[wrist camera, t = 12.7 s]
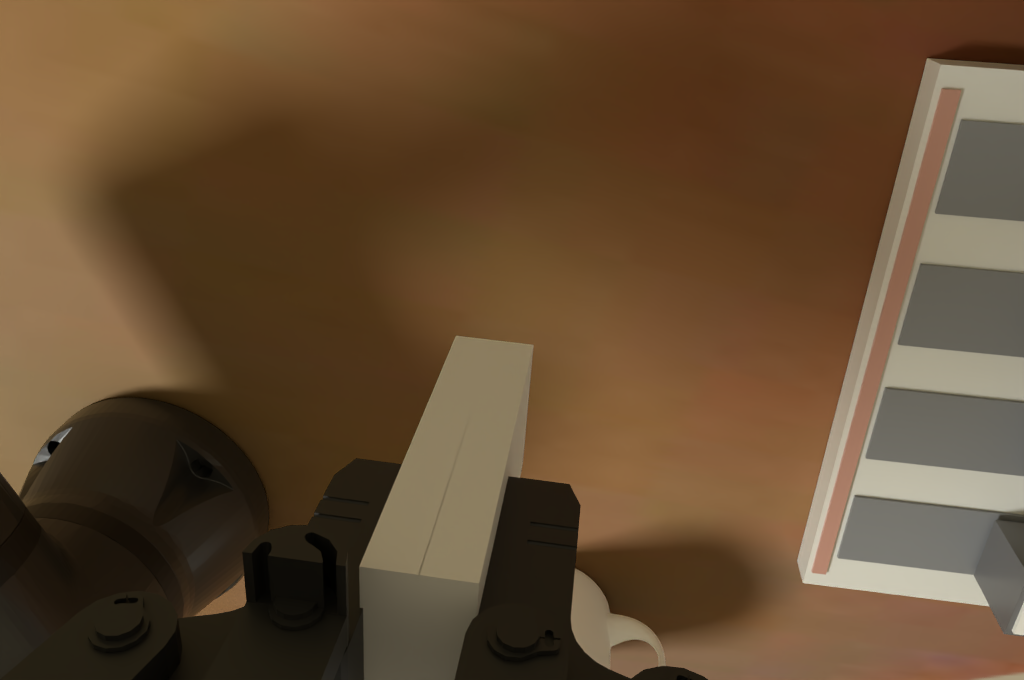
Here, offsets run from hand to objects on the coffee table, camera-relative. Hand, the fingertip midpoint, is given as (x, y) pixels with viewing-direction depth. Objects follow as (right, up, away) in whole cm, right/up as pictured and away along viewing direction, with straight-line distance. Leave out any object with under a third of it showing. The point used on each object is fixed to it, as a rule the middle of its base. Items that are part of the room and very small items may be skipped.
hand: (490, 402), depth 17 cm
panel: (+26, 0, +29) cm, 39 cm away
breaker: (+28, -11, +31) cm, 44 cm away
